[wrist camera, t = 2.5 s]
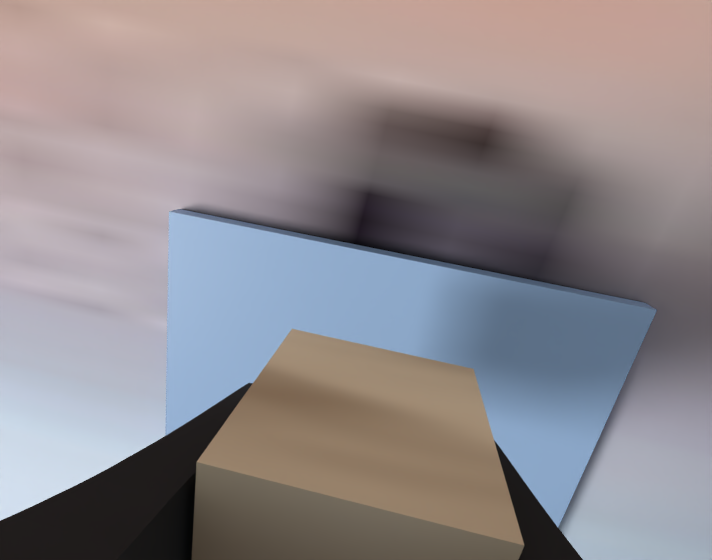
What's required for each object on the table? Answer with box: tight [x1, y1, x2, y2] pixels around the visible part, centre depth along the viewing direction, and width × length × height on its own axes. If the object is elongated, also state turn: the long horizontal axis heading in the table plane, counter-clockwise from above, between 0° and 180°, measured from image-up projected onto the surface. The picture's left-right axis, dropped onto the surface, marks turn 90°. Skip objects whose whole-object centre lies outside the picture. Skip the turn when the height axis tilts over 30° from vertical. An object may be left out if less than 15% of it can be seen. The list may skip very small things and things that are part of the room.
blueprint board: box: [166, 209, 657, 527], centre depth 16 cm, size 22×15×1 cm
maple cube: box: [192, 329, 524, 560], centre depth 7 cm, size 4×4×4 cm
